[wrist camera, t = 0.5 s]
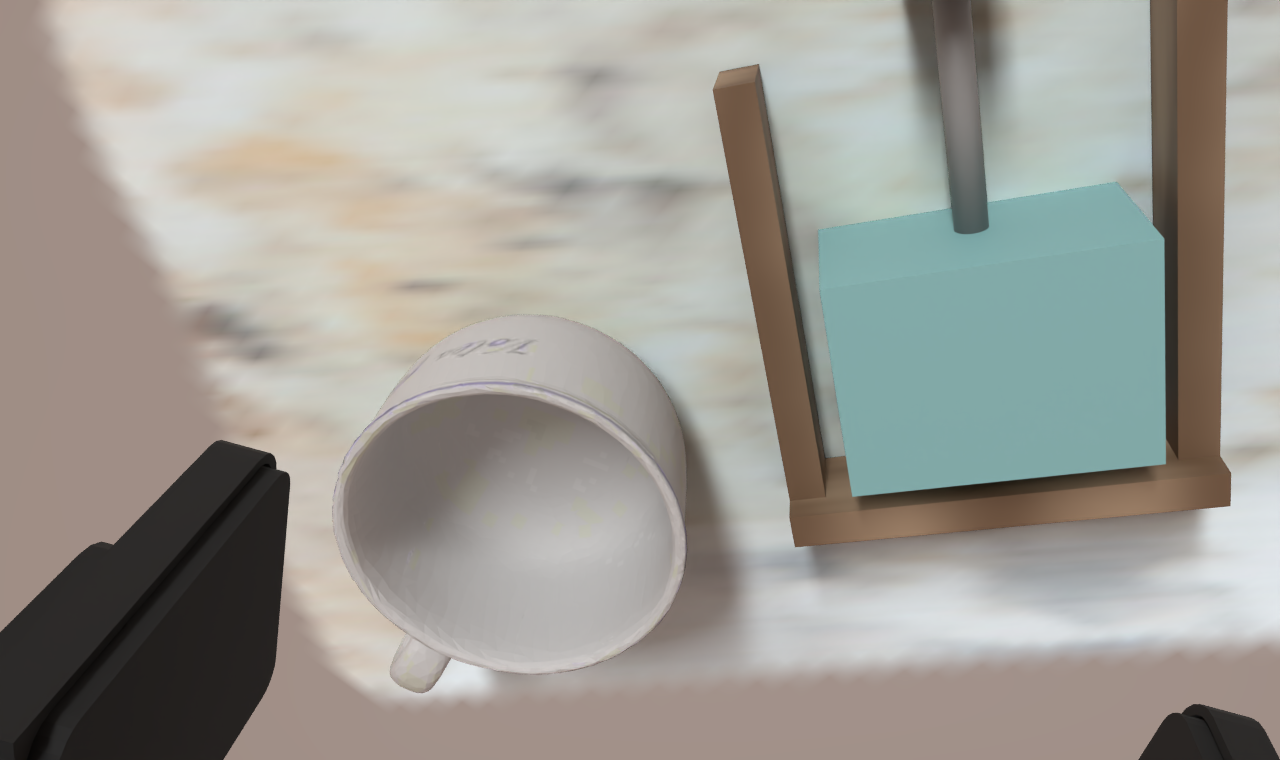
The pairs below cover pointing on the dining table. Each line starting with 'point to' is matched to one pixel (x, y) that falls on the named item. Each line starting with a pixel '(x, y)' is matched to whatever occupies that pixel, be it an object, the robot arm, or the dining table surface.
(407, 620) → the teacup
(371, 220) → the dining table surface
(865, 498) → the frame
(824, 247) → the teal block
